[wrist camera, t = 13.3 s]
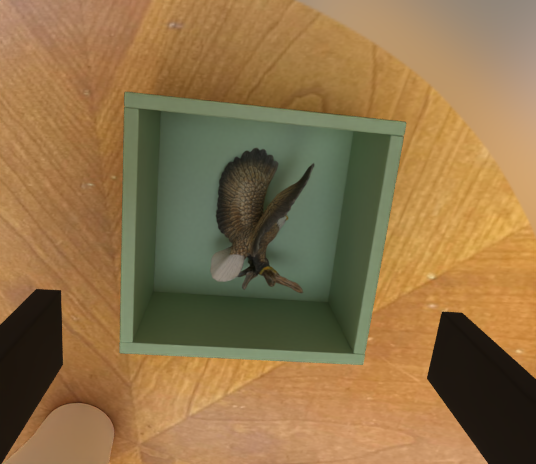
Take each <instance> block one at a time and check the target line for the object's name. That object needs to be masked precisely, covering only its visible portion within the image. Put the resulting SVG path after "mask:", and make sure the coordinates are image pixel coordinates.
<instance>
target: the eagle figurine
mask: <svg viewBox="0 0 536 464" xmlns="http://www.w3.org/2000/svg"><path fill="white" fill-rule="evenodd" d="M313 167H314V163H313V164H312V165H311V166H309V168H308V169H307V170H306V172H305V173H304V175H303V176H302V178H301V179H300V180H299V181H298V182H296V183H295V184H293V185H291V186H289V187H288V188H286V189H284V190H283V191H281V192H280V193H279V194H277V195H276V197H275V198H274V199H273V200H272V202H271V203H270V204H269V205H268V206H267V208H266V210H265V211H264V212H263V209H264V207H263V206H264V200H265V196H266V192H267V189H268V186H269V184H270V182H271V180H272V179H273V177H274V174H275V172H276V171H277V168H278V162H277V161H274V158H273V155H267V151H266V150H265V149H262V150H259V149H258V148H254V149H253V150H252V151H251V152H249V151H245V152H244V153H243V154H242V156H241V158H239V157H235V158H234V160H233V162H229V163H228V165H227V166H226V167H225V169H224V171H223V172H222V174H221V178H220V180H219V185H220V186H219V189H218V195H219V197H218V202H217V207H218V209H217V210H216V221H217V223H218V229H219V230H220V232H221V233H222V234H224V235H225V237H226V238H229V242H231V243H232V246H231V247H228V248H226V249H224V250H221V251H219V252H216V253H215V254H214V255H213V257H212V259H211V268H210V273H211V274H212V278H213V279H215V280H216V281H218V282H226V281H231V280H233V279H235V278H236V277H242V276H244V275H246V277H245V280H244V282H243V284H242V289H243V290H245V289H246V287H247V285H248V283H249V282H250V281H251V280H252V279H253V278H255V277H257V276H258V274H259V275H261V276H264V278H265V280H266V282H267V284H268V285H269V286H270V287H273V286H274V285H275V283H278V284H281V285H284V286H287V287H290V288H292V289H293V290H294V291H296V292H298V293H303V289H302V288H301V287H300V286H299V285H298V284H297V283H296V282H293V281H290V280H288V279H287V278H285V277H282V276H280V275H279V273H278V272H277V271H276V270H275V269H273V268H272V267H271V266H270V265H269V261H268V259H267V258H266V249H267V246H268V244H269V243H270V242H271V241H272V240H273V239H274V238H275V237H276V235H277V233H278V232H279V230H280V229H281V227H282V226H283V225H284V223H285V221H286V220H288V216H286V215H287V213H288V212H289V211H290V210H291V206H292V205H293V204H294V203H295V200H296V199H297V198H298V196H299V195H300V193H301V192H302V190H303V188H304V187H305V186H306V184H307V182H308V180H309V178H310V175H311V172H312V170H313ZM246 257H247V258H249V261H248V263H249V264H250V266H249V267H248V268H246V269H245V270H243V271H241V270H242V267H243V264H244V260H245V259H246Z"/></svg>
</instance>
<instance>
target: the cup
mask: <svg viewBox="0 0 536 464" xmlns="http://www.w3.org/2000/svg"><path fill="white" fill-rule="evenodd" d="M113 439H114V426H113V424H112V422H111V420H110V419H109V417H108V416H107V415H106V414H105V413H104V412H103V411H101V410H100V409H98V408H96V407H94V406H91V405H89V404H83V403H70V404H66V405H63V406H60V407H58V408H57V409H55V410H53V411H52V412H51V413H50V414H49V415H48V416H47V418H46V419H45V420H44V421H43V423H42V424H41V425H40V427H39V428H38V429H37V431H36V432H35V433H34V434H33V436H32V437H31V438H30V439H29V440H28V441H27V442H26V443H25V444H24V445H23V446H22V447H21V448H20V449H19V450H18V451H16V452H15V453H14V454H13V455H12V456H11V457H10V458H8V459H7V460H6V461H5V462H4V463H3V464H109V462H110V454H111V449H112V444H113Z"/></svg>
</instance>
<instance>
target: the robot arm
mask: <svg viewBox="0 0 536 464" xmlns="http://www.w3.org/2000/svg"><path fill="white" fill-rule="evenodd" d="M62 365H63V348H62V309H61V290H44V289H36V290H35V291H34V292H33V293H32V294H31V295H30V296H29V297H28V298H27V299H26V300H25V301H24V302H23V303H22V304H21V305H20V306H19V307H18V308H17V309H16V310H15V311H14V312H13V313H12V314H11V315H10V316H9V317H8V318H7V319H6V320H5V321H4V322H3V323H2V324H1V325H0V464H1V463H2V462H3V460H4V459H5V457H6V455H7V454H8V452H9V451H10V449H11V447H12V446H13V444H14V443H15V441H16V439H17V438H18V436H19V435H20V433H21V431H22V430H23V428H24V426H25V425H26V423H27V422H28V420H29V418H30V417H31V415H32V414H33V412H34V410H35V409H36V407H37V406H38V404H39V402H40V401H41V399H42V397H43V396H44V394H45V393H46V391H47V389H48V388H49V386H50V385H51V383H52V381H53V380H54V378H55V377H56V375H57V373H58V372H59V370H60V368H61V367H62ZM427 379H428V381H429V382H430V383H431V385H432V386H433V387H434V389H435V390H436V392H437V393H438V394H439V396H440V397H441V399H442V400H443V401H444V403H445V404H446V406H447V407H448V408H449V410H450V411H451V412H452V414H453V415H454V417H455V418H456V419H457V421H458V422H459V424H460V425H461V426H462V428H463V429H464V431H465V432H466V433H467V435H468V436H469V437H470V439H471V440H472V442H473V443H474V444H475V446H476V447H477V449H478V450H479V451H480V453H481V454H482V456H483V457H484V458H485V460H486V461H487V462H488V464H536V379H535V378H534V377H533V376H532V375H531V374H529V373H528V372H527V371H526V370H525V369H524V368H523V367H522V366H521V365H519V364H518V363H517V362H516V361H515V360H514V359H513V358H512V357H511V356H509V355H508V354H507V353H506V352H505V351H504V350H503V349H502V348H501V347H500V346H498V345H497V344H496V343H495V342H494V341H493V340H492V339H491V338H490V337H488V336H487V335H486V334H485V333H484V332H483V331H482V330H481V329H480V328H478V327H477V326H476V325H475V324H474V323H473V322H472V321H471V320H470V319H468V318H467V317H466V316H465V315H464V314H463V313H457V312H442V314H441V318H440V323H439V327H438V332H437V336H436V341H435V345H434V349H433V354H432V358H431V363H430V367H429V372H428V376H427Z"/></svg>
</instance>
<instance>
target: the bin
mask: <svg viewBox="0 0 536 464" xmlns="http://www.w3.org/2000/svg"><path fill="white" fill-rule="evenodd" d="M124 106H125V107H124V140H123V194H122V248H121V301H120V353H124V354H145V355H166V356H187V357H207V358H228V359H249V360H270V361H291V362H312V363H333V364H353V365H363V362H364V357H365V350H366V344H367V339H368V333H369V328H370V322H371V317H372V311H373V306H374V300H375V294H376V289H377V283H378V278H379V272H380V267H381V261H382V256H383V250H384V244H385V239H386V233H387V228H388V222H389V217H390V211H391V206H392V200H393V194H394V189H395V183H396V178H397V172H398V167H399V161H400V156H401V150H402V144H403V139H404V137H403V136H404V134H405V128H406V122H403V121H393V120H384V119H375V118H366V117H356V116H347V115H338V114H329V113H319V112H310V111H301V110H291V109H282V108H273V107H264V106H254V105H245V104H236V103H227V102H217V101H208V100H199V99H190V98H180V97H171V96H162V95H153V94H143V93H134V92H125V93H124ZM254 148H258V149H259V150H262V149H265V150H266V151H267V155H273V158H274V161H277V162H278V168H277V171H276V172H275V174H274V177H273V179H272V180H271V182H270V184H269V186H268V189H267V192H266V196H265V200H264V206H263V207H264V209H263V212H264V211H265V210H266V208H267V206H268V205H269V204H270V203H271V202H272V200H273V199H274V198H275V197H276V195H277V194H279V193H280V192H281V191H283V190H284V189H286V188H288V187H289V186H291V185H293V184H295V183H296V182H298V181H299V180H300V179H301V178H302V176H303V175H304V173H305V172H306V170H307V169H308V168H309V166H311V165H312V164H313V163H314V167H313V170H312V172H311V175H310V178H309V180H308V182H307V184H306V186H305V187H304V188H303V190H302V192H301V193H300V195H299V196H298V198H297V199H296V200H295V203H294V204H293V205H292V206H291V210H290V211H289V212H288V213H287V215H286V216H288V220H286V221H285V223H284V225H283V226H282V227H281V229H280V230H279V232H278V233H277V235H276V237H275V238H274V239H273V240H272V241H271V242H270V243H269V244H268V246H267V249H266V258H267V259H268V261H269V265H270V266H271V267H272V268H273V269H275V270H276V271H277V272H278V273H279V275H280V276H282V277H285V278H287V279H288V280H290V281H293V282H296V283H297V284H298V285H299V286H300V287H301V288H302V289H303V293H298V292H296V291H294V290H293V289H292V288H290V287H287V286H284V285H281V284H278V283H275V285H274V286H273V287H270V286H269V285H268V284H267V282H266V280H265V278H264V276H261V275H259V274H258V276H257V277H255V278H253V279H252V280H251V281H250V282H249V283H248V285H247V287H246V289H245V290H243V289H242V284H243V282H244V280H245V277H246V275H244V276H242V277H236V278H235V279H233V280H231V281H226V282H218V281H216V280H215V279H213V278H212V274H211V273H210V268H211V259H212V257H213V255H214V254H215V253H216V252H219V251H221V250H224V249H226V248H228V247H231V246H232V243H231V242H229V238H226V237H225V235H224V234H222V233H221V232H220V230H219V229H218V223H217V221H216V210H217V209H218V207H217V202H218V197H219V195H218V189H219V186H220V185H219V180H220V178H221V174H222V172H223V171H224V169H225V167H226V166H227V165H228V163H229V162H233V160H234V158H235V157H239V158H241V156H242V154H243V153H244V152H245V151H249V152H251V151H252V150H253V149H254ZM248 261H249V258H247V257H246V259H245V260H244V264H243V267H242V270H241V271H243V270H245V269H246V268H248V267H249V266H250V264H249V263H248Z"/></svg>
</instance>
